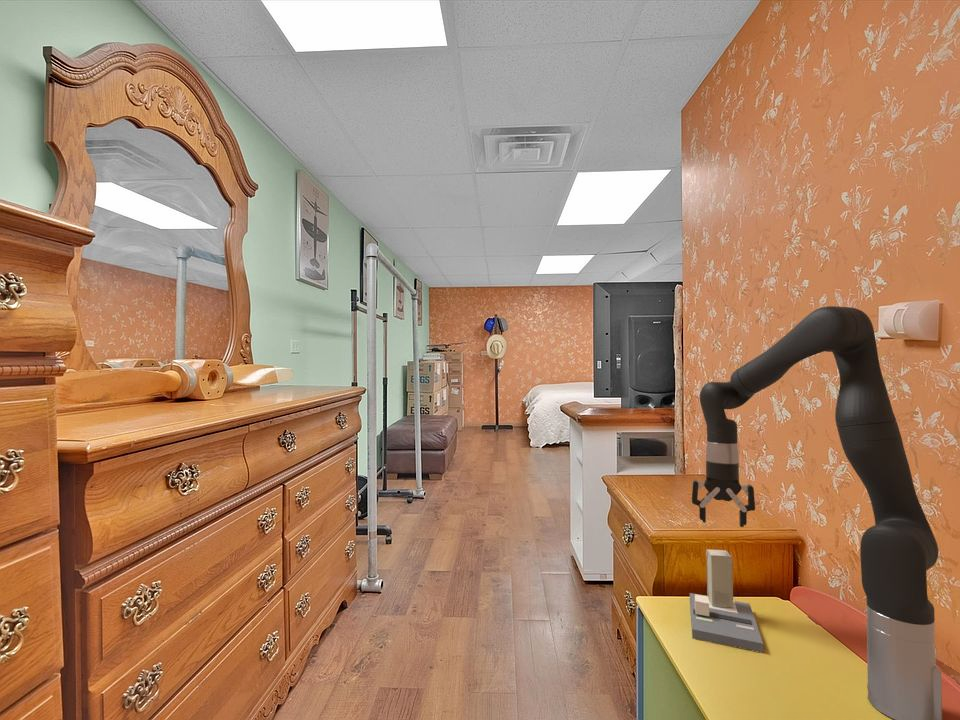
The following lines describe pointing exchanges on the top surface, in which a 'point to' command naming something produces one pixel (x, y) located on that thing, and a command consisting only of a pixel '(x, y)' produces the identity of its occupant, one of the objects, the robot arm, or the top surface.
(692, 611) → the switch board
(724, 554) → the box
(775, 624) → the top surface
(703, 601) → the tab
